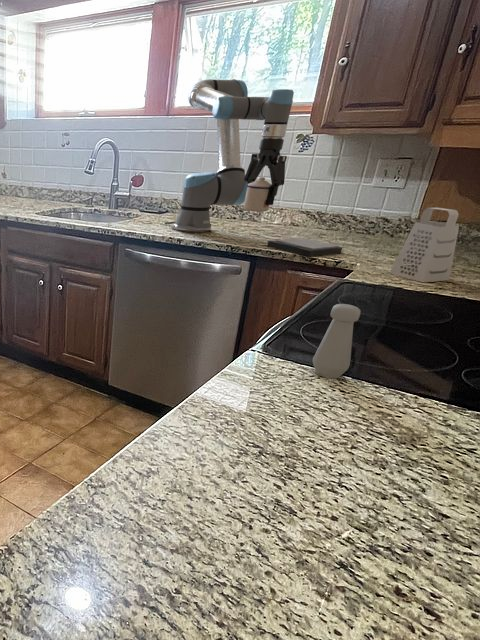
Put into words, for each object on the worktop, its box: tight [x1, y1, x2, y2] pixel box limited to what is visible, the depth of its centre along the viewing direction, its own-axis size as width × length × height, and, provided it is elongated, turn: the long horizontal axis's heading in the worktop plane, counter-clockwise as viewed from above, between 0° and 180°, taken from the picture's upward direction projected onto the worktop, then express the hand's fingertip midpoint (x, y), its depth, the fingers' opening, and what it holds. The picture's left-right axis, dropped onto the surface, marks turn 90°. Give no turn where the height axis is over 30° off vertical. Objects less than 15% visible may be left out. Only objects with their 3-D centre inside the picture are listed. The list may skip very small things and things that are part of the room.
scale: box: [267, 237, 343, 258], centre depth 192 cm, size 18×16×2 cm
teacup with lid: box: [242, 176, 272, 213], centre depth 196 cm, size 12×9×12 cm
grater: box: [389, 207, 460, 283], centre depth 155 cm, size 10×10×20 cm
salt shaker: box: [312, 303, 361, 380], centre depth 93 cm, size 6×6×13 cm
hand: (258, 203), depth 196 cm, fingers closed on teacup with lid, 9 cm apart
